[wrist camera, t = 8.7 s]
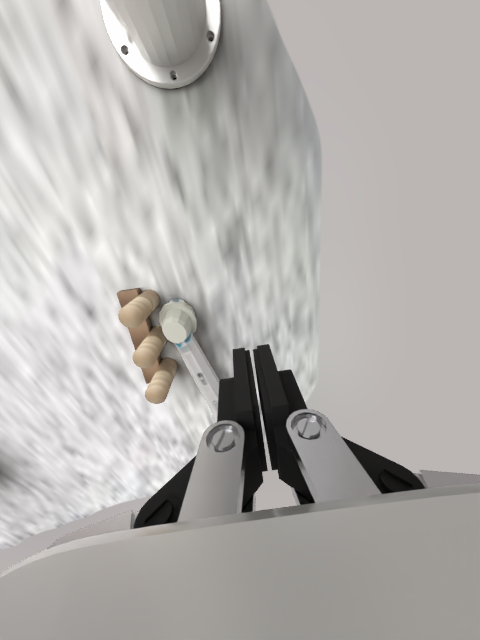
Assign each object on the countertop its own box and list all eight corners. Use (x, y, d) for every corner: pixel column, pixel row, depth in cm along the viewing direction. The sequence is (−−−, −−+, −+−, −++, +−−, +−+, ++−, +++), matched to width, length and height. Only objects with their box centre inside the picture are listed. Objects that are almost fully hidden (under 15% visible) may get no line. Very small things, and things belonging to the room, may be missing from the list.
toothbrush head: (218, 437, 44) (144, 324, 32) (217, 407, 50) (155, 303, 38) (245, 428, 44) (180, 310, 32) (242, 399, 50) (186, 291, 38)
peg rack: (120, 290, 38) (94, 306, 30) (156, 285, 38) (138, 300, 30) (149, 378, 44) (132, 410, 36) (179, 374, 43) (169, 404, 36)
